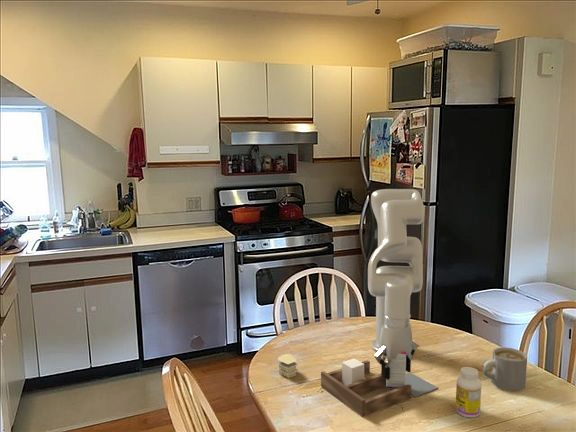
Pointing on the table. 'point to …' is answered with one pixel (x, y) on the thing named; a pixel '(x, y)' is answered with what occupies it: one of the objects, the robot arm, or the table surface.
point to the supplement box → (397, 372)
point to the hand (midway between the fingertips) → (396, 373)
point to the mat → (418, 385)
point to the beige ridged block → (287, 365)
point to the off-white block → (352, 371)
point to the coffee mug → (507, 369)
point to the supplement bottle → (468, 393)
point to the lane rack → (363, 391)
